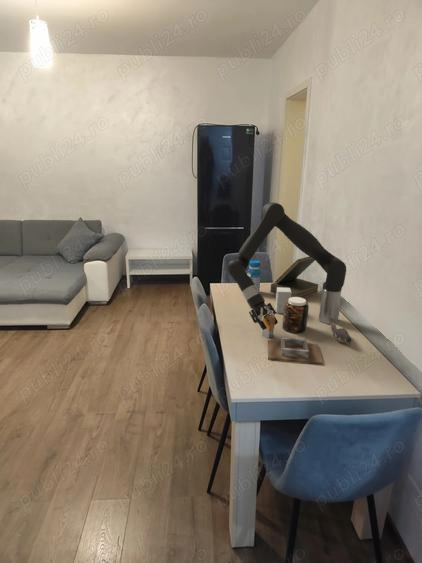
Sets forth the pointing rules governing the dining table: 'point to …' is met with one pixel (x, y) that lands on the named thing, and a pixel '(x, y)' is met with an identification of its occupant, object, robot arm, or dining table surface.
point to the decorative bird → (339, 332)
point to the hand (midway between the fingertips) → (270, 326)
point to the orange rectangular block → (269, 326)
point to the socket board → (294, 351)
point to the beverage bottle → (254, 272)
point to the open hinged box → (296, 280)
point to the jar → (295, 315)
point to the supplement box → (282, 298)
